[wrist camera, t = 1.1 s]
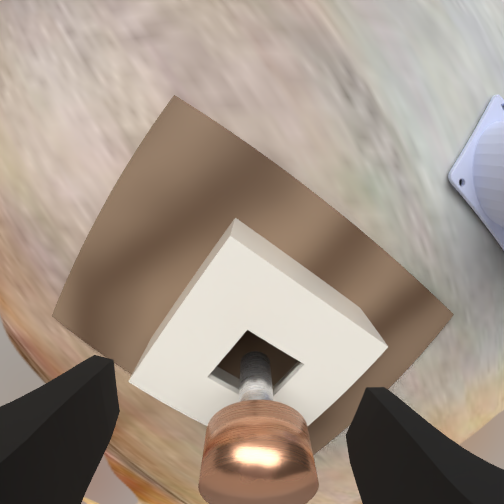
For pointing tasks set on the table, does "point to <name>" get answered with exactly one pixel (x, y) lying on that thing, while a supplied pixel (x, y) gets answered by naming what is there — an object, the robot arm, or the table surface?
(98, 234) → the board
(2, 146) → the table surface
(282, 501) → the plunger
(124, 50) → the table surface
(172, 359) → the hollow square block
